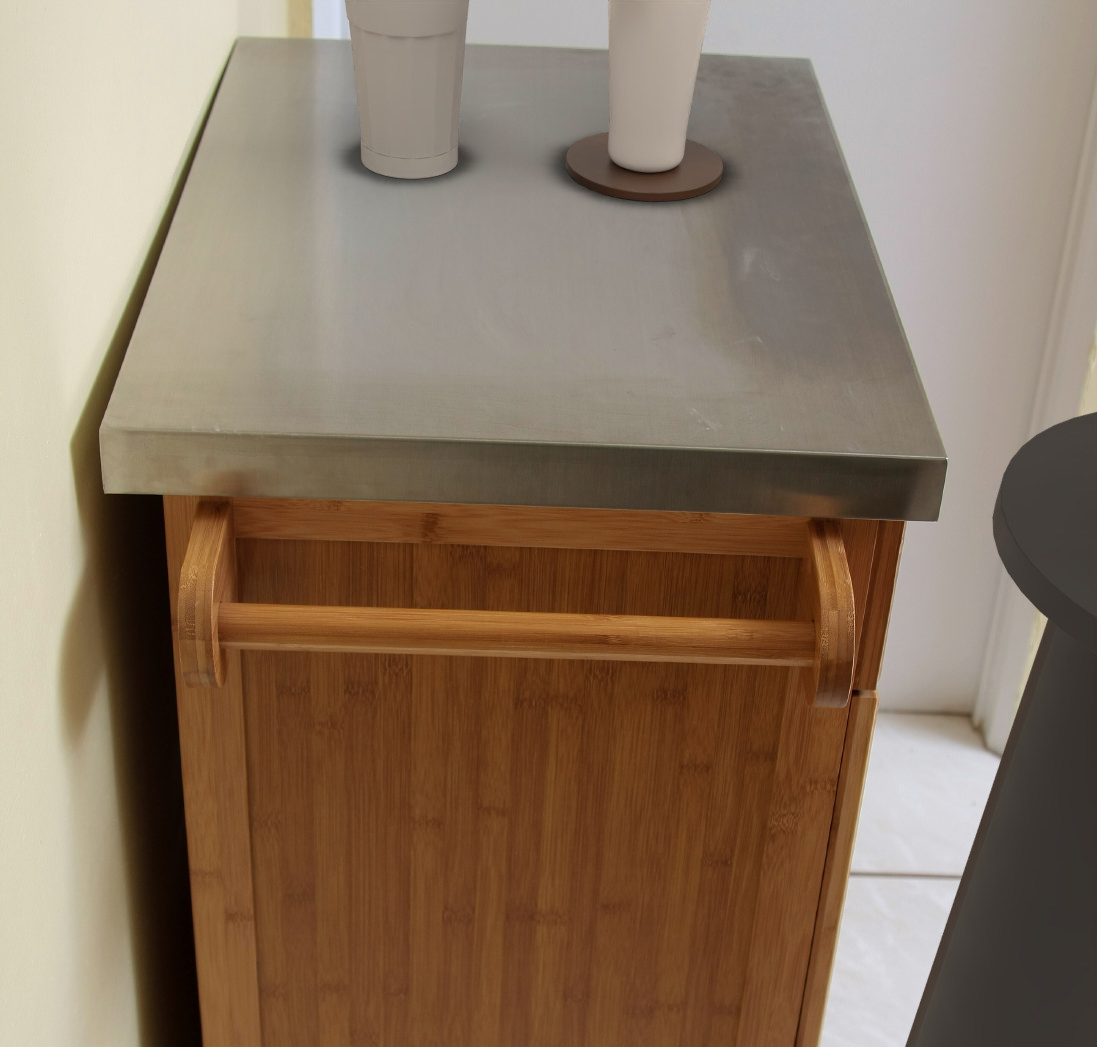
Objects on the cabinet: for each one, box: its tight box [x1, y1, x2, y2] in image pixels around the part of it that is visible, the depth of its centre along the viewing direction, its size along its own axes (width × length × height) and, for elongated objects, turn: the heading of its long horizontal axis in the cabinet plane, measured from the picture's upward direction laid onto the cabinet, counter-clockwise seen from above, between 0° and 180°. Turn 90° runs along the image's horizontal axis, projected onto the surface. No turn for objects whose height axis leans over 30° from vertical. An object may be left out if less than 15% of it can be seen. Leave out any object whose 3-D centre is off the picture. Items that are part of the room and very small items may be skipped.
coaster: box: [565, 131, 724, 202], centre depth 108 cm, size 11×11×1 cm
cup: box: [344, 0, 470, 180], centre depth 103 cm, size 8×8×13 cm
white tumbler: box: [607, 0, 712, 173], centre depth 103 cm, size 7×7×15 cm
